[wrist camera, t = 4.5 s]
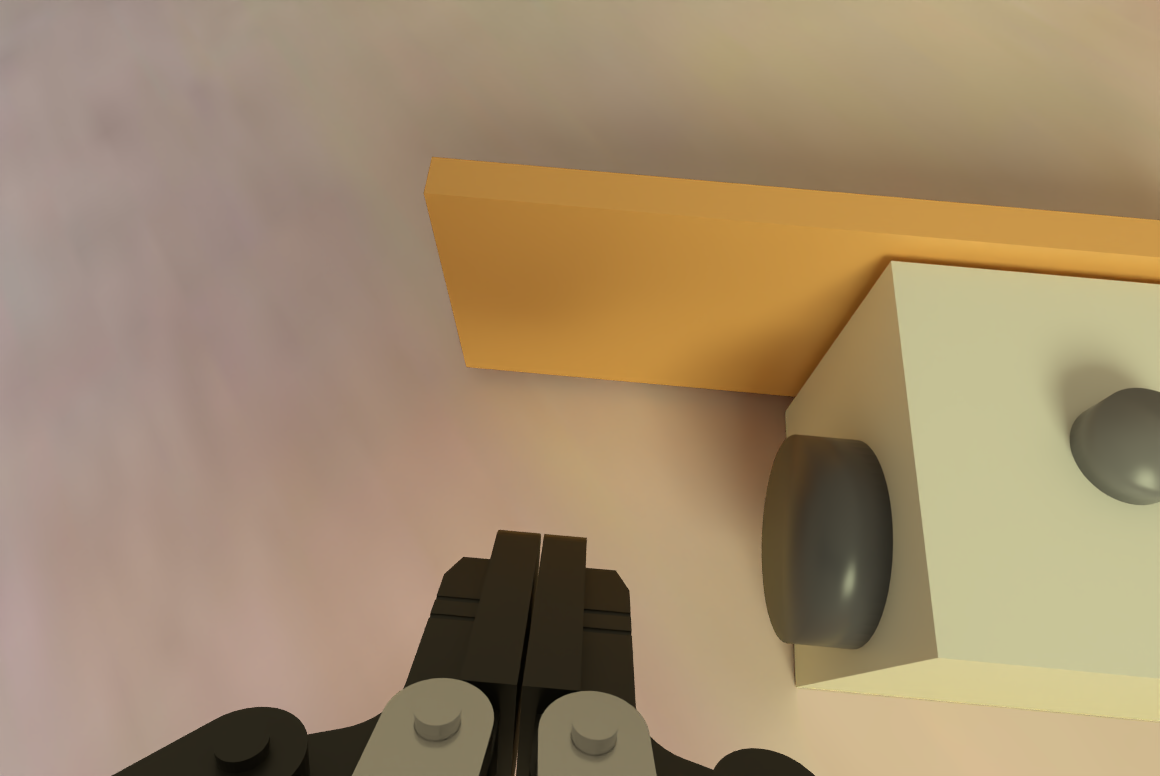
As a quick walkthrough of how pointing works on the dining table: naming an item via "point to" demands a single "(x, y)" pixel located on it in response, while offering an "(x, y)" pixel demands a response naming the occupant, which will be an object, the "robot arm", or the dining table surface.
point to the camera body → (977, 496)
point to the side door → (713, 268)
